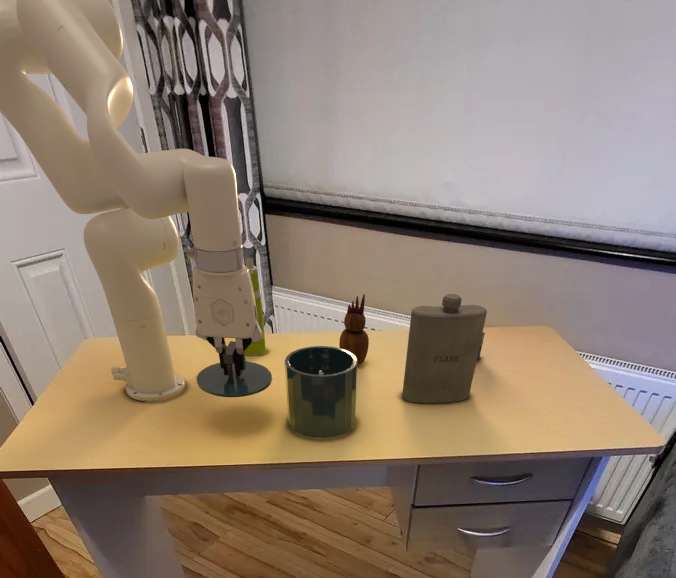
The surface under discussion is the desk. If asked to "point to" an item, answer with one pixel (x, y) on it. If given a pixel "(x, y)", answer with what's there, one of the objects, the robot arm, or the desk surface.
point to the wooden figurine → (355, 332)
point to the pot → (321, 391)
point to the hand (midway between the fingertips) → (234, 371)
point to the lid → (234, 377)
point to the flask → (442, 351)
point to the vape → (259, 346)
